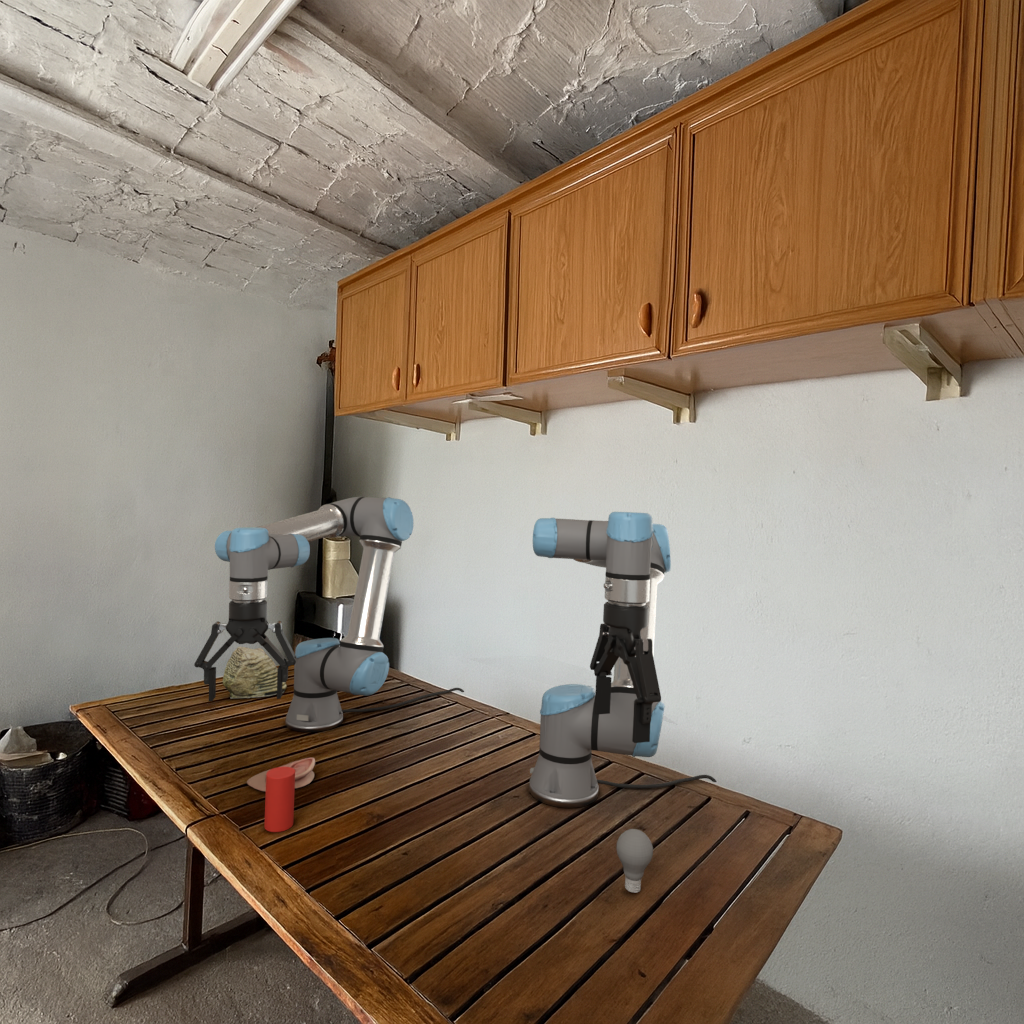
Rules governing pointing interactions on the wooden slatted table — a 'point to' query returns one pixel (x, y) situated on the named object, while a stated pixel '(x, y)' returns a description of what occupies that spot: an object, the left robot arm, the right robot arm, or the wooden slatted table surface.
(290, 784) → the cylinder
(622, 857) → the light bulb
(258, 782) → the anatomical model
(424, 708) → the wooden slatted table surface
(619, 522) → the right robot arm
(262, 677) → the fossil
